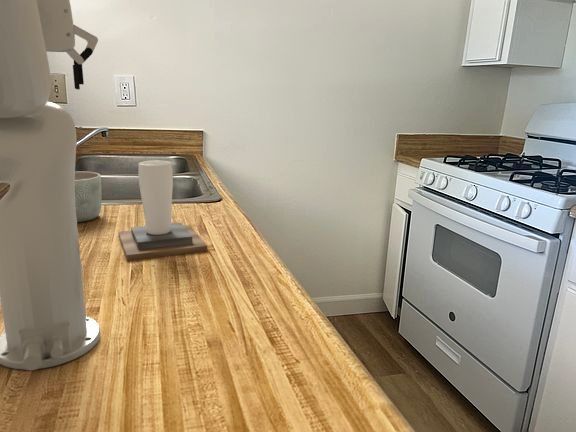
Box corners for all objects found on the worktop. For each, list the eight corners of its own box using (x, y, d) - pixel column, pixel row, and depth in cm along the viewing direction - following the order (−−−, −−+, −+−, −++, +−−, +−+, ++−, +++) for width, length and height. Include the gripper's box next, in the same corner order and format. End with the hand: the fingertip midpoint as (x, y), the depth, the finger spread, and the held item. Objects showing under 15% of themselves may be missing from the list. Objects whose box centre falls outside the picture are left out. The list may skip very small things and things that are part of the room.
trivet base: (207, 251, 100) (207, 238, 99) (127, 260, 93) (126, 247, 93) (189, 229, 114) (189, 218, 113) (118, 236, 107) (117, 225, 107)
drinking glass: (135, 233, 101) (130, 163, 97) (157, 225, 107) (154, 159, 103) (159, 239, 98) (156, 166, 94) (181, 230, 104) (178, 162, 100)
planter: (45, 216, 122) (40, 174, 119) (95, 209, 129) (92, 169, 126) (57, 228, 112) (52, 182, 109) (110, 220, 120) (107, 177, 117)
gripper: (-38, -38, 67) (-20, 88, 72) (94, -25, 74) (103, 90, 79) (-29, -28, 74) (-13, 87, 78) (92, -16, 81) (100, 89, 85)
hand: (45, 88), depth 78 cm, fingers open, 9 cm apart
